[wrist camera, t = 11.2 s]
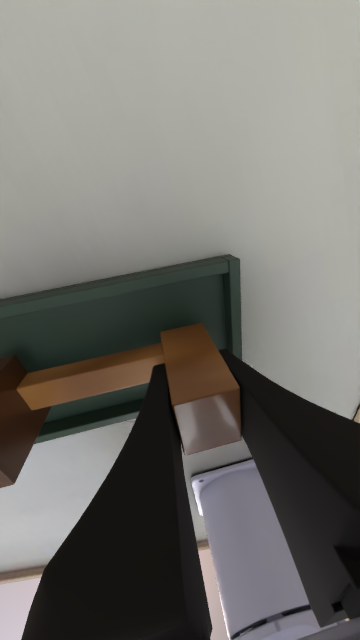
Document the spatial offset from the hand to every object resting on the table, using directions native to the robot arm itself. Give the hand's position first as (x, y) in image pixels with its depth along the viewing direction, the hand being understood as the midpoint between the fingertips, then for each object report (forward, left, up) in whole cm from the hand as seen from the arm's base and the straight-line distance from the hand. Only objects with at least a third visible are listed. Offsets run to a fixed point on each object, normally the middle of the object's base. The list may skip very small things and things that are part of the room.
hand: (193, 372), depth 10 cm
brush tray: (+5, 0, -3) cm, 6 cm away
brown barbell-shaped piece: (+5, 0, -2) cm, 5 cm away
